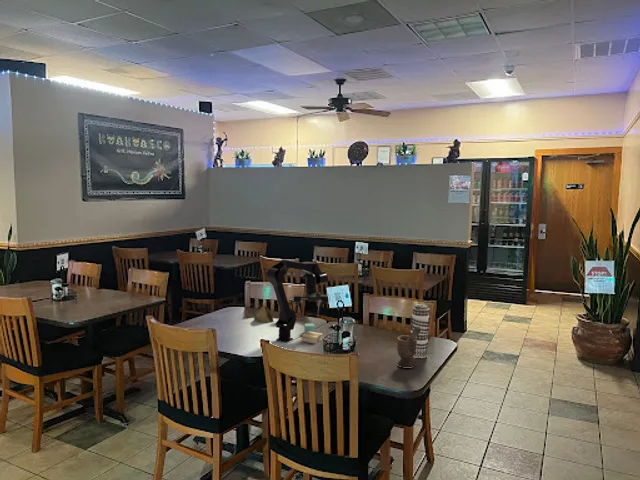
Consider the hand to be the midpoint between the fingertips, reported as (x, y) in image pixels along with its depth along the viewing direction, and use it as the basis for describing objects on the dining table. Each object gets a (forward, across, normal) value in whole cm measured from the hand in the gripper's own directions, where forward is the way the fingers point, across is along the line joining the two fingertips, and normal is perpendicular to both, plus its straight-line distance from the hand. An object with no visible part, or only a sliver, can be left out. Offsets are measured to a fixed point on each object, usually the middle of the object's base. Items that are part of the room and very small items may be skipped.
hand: (309, 313), depth 259 cm
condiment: (+11, -10, +24) cm, 29 cm away
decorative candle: (+11, +48, -38) cm, 62 cm away
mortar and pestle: (+11, +38, -52) cm, 66 cm away
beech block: (+11, 0, -11) cm, 16 cm away
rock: (+11, -24, +26) cm, 37 cm away
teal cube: (+11, 0, 0) cm, 11 cm away
